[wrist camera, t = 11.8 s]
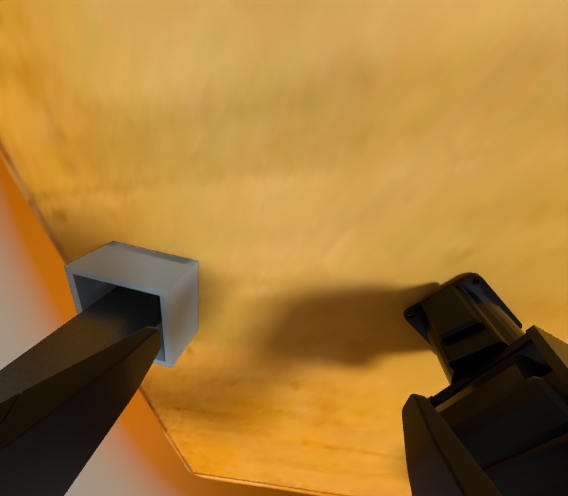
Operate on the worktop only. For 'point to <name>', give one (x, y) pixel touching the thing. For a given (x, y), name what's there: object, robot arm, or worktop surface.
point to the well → (143, 288)
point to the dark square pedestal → (82, 337)
